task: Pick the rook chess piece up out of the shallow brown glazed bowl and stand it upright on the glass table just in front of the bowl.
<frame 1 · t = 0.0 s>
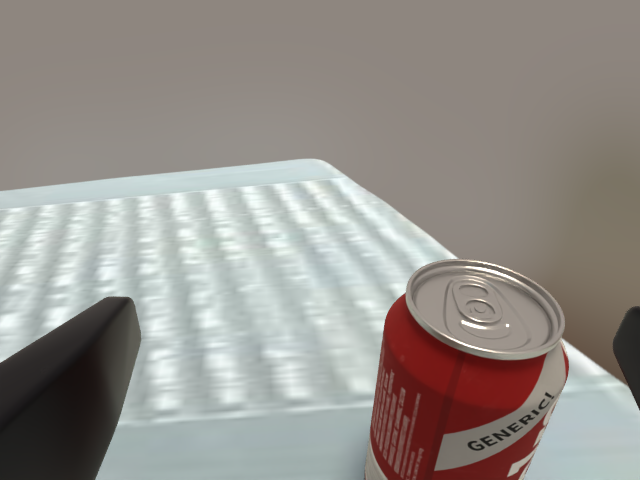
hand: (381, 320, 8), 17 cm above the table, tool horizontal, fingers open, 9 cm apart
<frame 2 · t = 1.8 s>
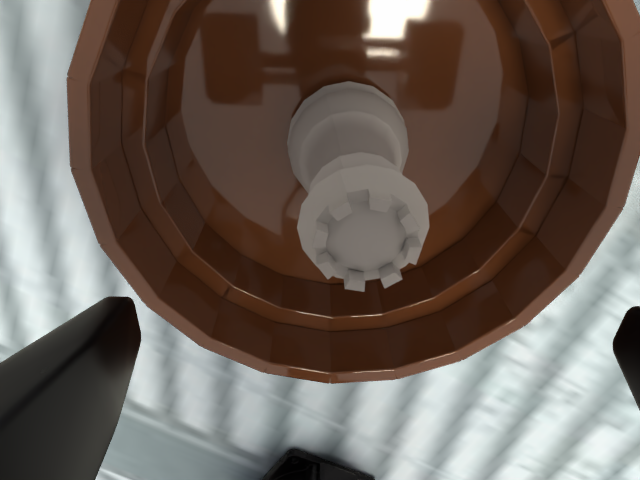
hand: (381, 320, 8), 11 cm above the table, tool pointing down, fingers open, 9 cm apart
rook chess piece: (345, 137, 17), resting on bowl
bowl: (345, 135, 18), on the table
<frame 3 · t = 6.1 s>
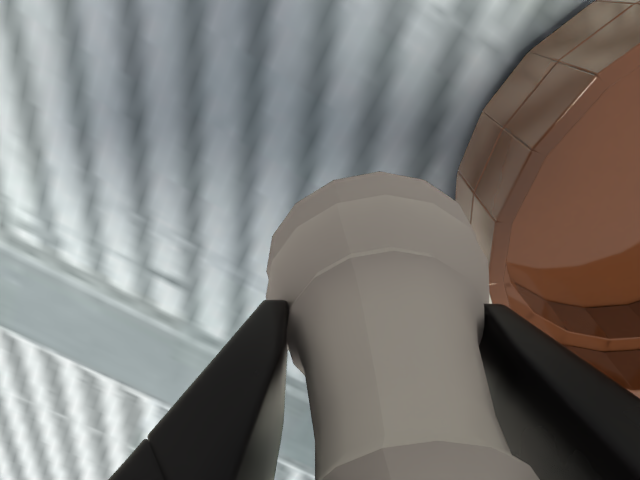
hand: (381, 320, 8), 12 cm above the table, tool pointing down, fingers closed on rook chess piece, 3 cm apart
rook chess piece: (368, 253, 10), point 10 cm above the table, touching gripper
bowl: (635, 178, 20), on the table
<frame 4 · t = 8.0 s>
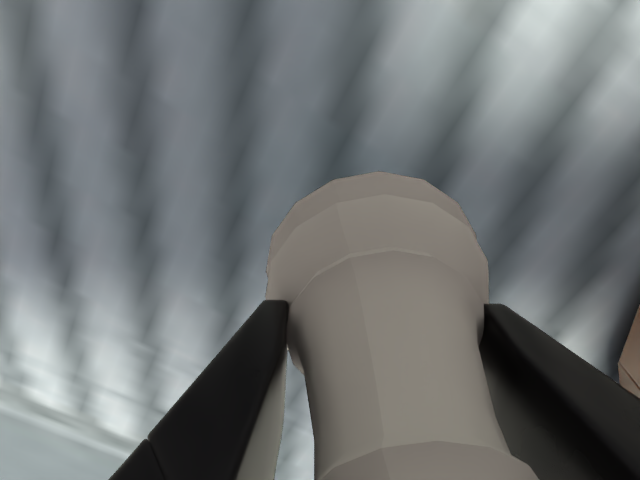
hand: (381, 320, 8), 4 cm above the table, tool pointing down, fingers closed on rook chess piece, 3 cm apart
rook chess piece: (368, 253, 10), point 2 cm above the table, touching gripper
when the fingers open (2 cm above the table, at t = 8.9 s): rook chess piece stays where it is, on the table.
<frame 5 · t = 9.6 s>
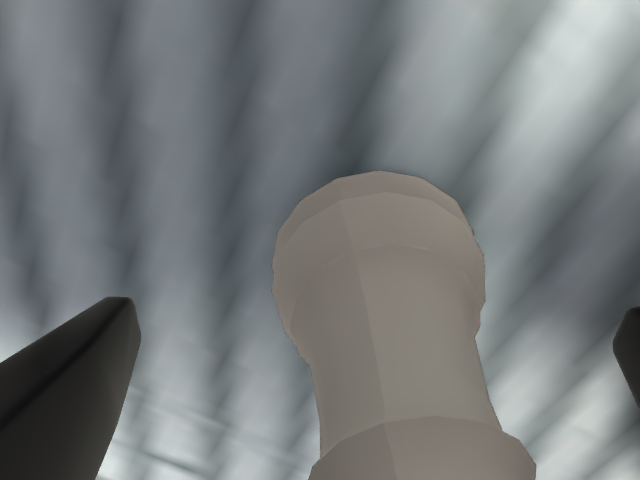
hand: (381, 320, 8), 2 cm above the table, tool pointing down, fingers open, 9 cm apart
rook chess piece: (369, 249, 10), on the table
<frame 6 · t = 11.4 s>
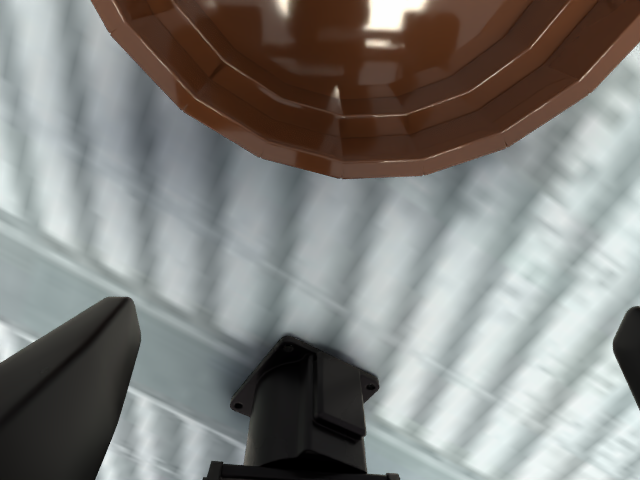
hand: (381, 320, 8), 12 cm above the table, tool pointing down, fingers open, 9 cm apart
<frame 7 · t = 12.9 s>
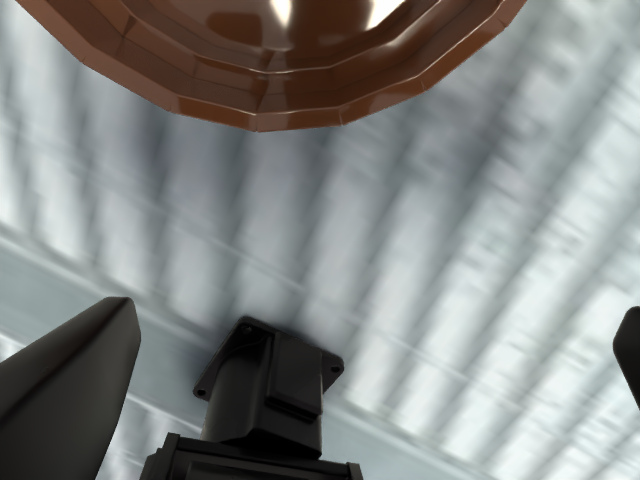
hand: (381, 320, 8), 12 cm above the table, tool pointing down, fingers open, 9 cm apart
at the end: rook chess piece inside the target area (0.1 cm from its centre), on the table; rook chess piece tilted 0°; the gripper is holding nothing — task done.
